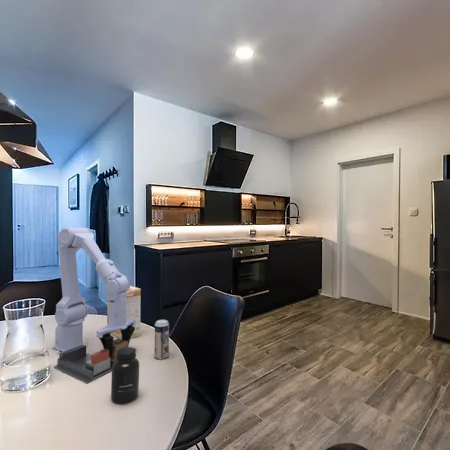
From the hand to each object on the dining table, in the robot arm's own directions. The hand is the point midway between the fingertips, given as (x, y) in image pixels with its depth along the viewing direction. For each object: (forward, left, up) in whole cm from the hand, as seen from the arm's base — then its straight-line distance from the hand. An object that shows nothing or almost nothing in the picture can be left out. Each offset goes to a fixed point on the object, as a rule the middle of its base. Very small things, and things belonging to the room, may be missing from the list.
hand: (116, 351), depth 96 cm
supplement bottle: (+21, -14, -2) cm, 25 cm away
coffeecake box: (-15, +15, -2) cm, 21 cm away
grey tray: (-2, -10, -2) cm, 10 cm away
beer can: (+13, +8, -2) cm, 15 cm away
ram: (+4, -10, -1) cm, 11 cm away
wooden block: (0, 0, -2) cm, 2 cm away
